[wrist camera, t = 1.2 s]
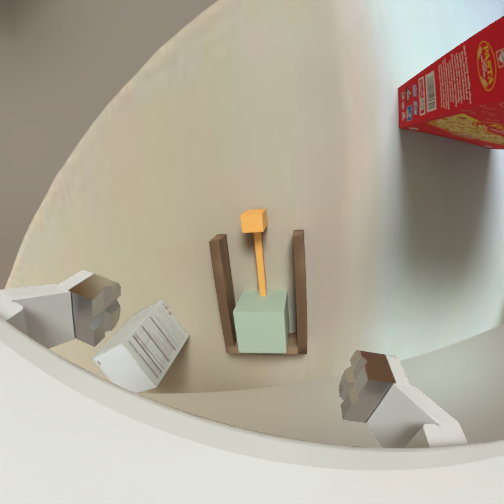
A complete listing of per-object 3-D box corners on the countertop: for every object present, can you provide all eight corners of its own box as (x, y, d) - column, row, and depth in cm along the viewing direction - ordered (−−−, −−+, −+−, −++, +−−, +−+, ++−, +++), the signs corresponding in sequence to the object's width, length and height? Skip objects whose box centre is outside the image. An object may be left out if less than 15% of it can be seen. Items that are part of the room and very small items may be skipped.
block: (281, 206, 36) (277, 215, 30) (289, 328, 41) (286, 353, 35) (233, 209, 37) (220, 219, 31) (247, 328, 42) (238, 352, 36)
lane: (303, 229, 36) (303, 236, 33) (307, 339, 41) (306, 354, 37) (217, 234, 38) (209, 241, 35) (232, 339, 43) (226, 353, 39)
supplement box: (159, 349, 46) (123, 398, 34) (133, 314, 45) (89, 357, 33) (191, 336, 44) (158, 389, 32) (163, 297, 43) (120, 343, 31)
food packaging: (398, 128, 30) (538, 93, 7) (398, 88, 28) (518, 6, 5) (490, 148, 28) (630, 164, 4) (489, 112, 26) (624, 99, 3)
